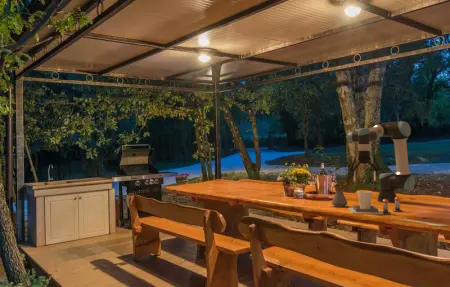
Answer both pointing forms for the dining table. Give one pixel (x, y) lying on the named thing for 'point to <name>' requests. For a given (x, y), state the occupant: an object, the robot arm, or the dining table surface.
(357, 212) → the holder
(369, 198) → the foam cup
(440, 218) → the dining table surface
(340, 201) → the coffee pot
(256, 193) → the dining table surface
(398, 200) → the pegs
